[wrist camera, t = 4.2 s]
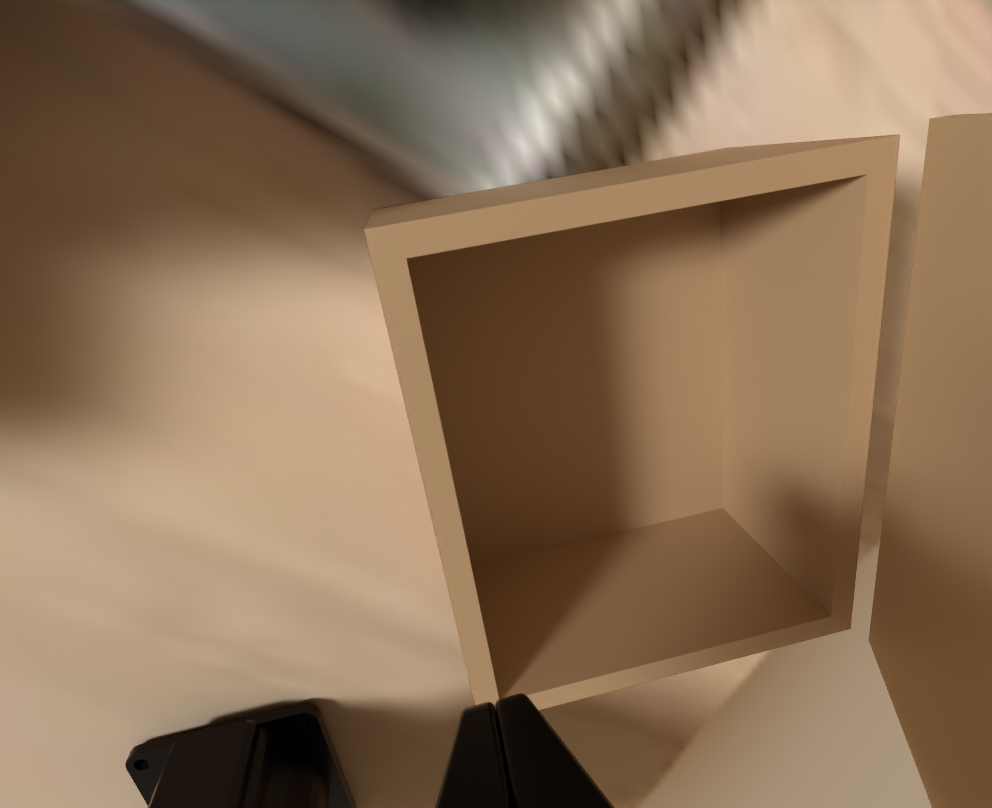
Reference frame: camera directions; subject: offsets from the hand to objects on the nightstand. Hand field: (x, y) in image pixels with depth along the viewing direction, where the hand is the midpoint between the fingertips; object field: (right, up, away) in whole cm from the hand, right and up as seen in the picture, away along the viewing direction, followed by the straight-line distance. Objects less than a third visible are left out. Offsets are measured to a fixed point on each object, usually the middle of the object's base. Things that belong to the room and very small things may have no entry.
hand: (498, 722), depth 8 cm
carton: (+3, +5, +11) cm, 12 cm away
